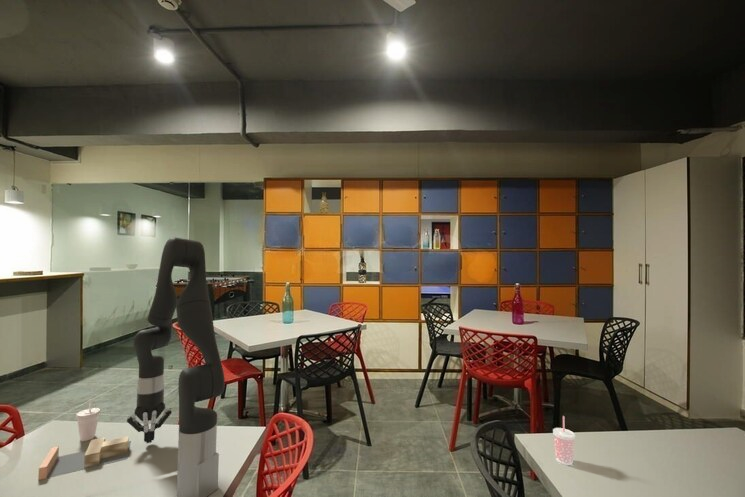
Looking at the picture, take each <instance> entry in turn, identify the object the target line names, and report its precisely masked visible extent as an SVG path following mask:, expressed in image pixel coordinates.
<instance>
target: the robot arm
mask: <svg viewBox="0 0 745 497" xmlns="http://www.w3.org/2000/svg"><path fill="white" fill-rule="evenodd" d="M160 258H161V259H160V263H159V269H158V274H157V282H156V288H155V293H154V297H153V300H152V302H151V306H150V307H149V308H150V309H149V311H148V314H147V322H148V323H149V324H150V325H153V326H155V327H152V328H148V329H142V330H139V331H138V332H137V333H136V334H135V335H134V338H133V340H132V341H133V342H132V343H133V344H132V345H133V348H134V350H135V351H134V352H135V354H136V357H137V362H138V377H137V378H138V379H137V387H136V408H135V409H134V412H133V413H132V414H130V415H128V416H127V418H126V422H127V423H128V424H129V426H131V427H132V428H133V429H134V430H136V432H138V433H141V432H142V433H143V441H144V443H146V444H151V443H152V441H154V439H155V434H156V433H155V431H156V430H157V429H159V428H162V425H163V424H164V423H165V422H166V421H167V419H169V417H170V416H171V414H172V412H173V411H172V408H171V407H169V408H168V407H166V404H165V402H164V400H165V376H164V374H165V360H164V357H163V356H161V355H153V353H152V351H154V350H157V349H162V348H164V347H166V346H167V345H168V344H169V343H170V341H171V339H172V326H173V325H172V322H173V317H174V314H175V312H176V319H177V325H178V328H179V329H180V330H181V332H182V333H183V334H184V335H185V336H186V337H187V338H188V339H189V340H190V341H191V342H192V343H193V344H194V345H195V346H196V347H197V349H198V350H199V352H200V353H201V355H202V357H203V360H204V364H200V365H195V366H190V367H185V368H182V370H181V371H180V373H179V377H178V387H177V388H178V439H177V440H178V441H177V442H178V443H177V444H178V445H177V448H178V449H177V472H176V473H177V475H176V476H177V477H176V483H177V484H176V497H209V496H210V495H212V493H214V492H215V491H217V490H218V488H219V462H220V461H219V459H220V458H219V456H220V454H219V453H218V452H217V433H218V430H217V429H218V413H217V411H216V410H214V409H212V408H208V407H207V408H206V407H198V406H195V404H196V403H199V402H202V401H206V400H211V399H214V398H218V397H220V396H221V395H223V393H224V391H225V387H226V386H225V385H226V384H225V383H226V380H225V374H224V373H225V372H224V369H223V364H222V360H221V356H220V352H219V348H218V345H217V344H218V343H217V339H216V333H215V326H214V319H213V312H212V306H211V300H210V295H209V288H208V282H207V270H206V253H205V248H204V246H203V243H201V241H199V240H194V239H188V238H182V237H176V236H174V237H169V239H167V241H166V242H165V244H164V246H163V250H162V252H161V257H160ZM175 267H179V268H180V267H181V268H188V270H189V275H190V276H189V280H188V283H187V285H186V286H185V288H183V291H182V292H181V293H180V295H179V297H178V294H177V291H176V289H175V286H174V283H173V277H172V273H173V270H174V268H175ZM161 414H163V415H162V416H161ZM160 416H161V417H160ZM159 417H160V418H159ZM158 418H159V420H158V421H157V422H156V420H157V419H158ZM137 419H139V420H140V421H141V422H142V423H143V424H142V423H140V422H139V421H138V420H137ZM149 421H151V422H150V423H149Z"/></svg>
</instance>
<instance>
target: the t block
mask: <svg viewBox="0 0 745 497" xmlns="http://www.w3.org/2000/svg"><path fill="white" fill-rule="evenodd" d="M129 437H130V436H123V437H119V438H115V439H114V438H113V439H109V440H106V436H105V437H104V436H103V437H98V438H93V439H91V440H90V442H89V445H88V447H87V449H86V450H85V451H86V453H85V456H84V468H85V467H89V466H93V465H97V464H99V463H100V460H101V458H106V457H110V456H114V455H119V454H123V453H127V451H128V442H129V441H130V440H129Z"/></svg>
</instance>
